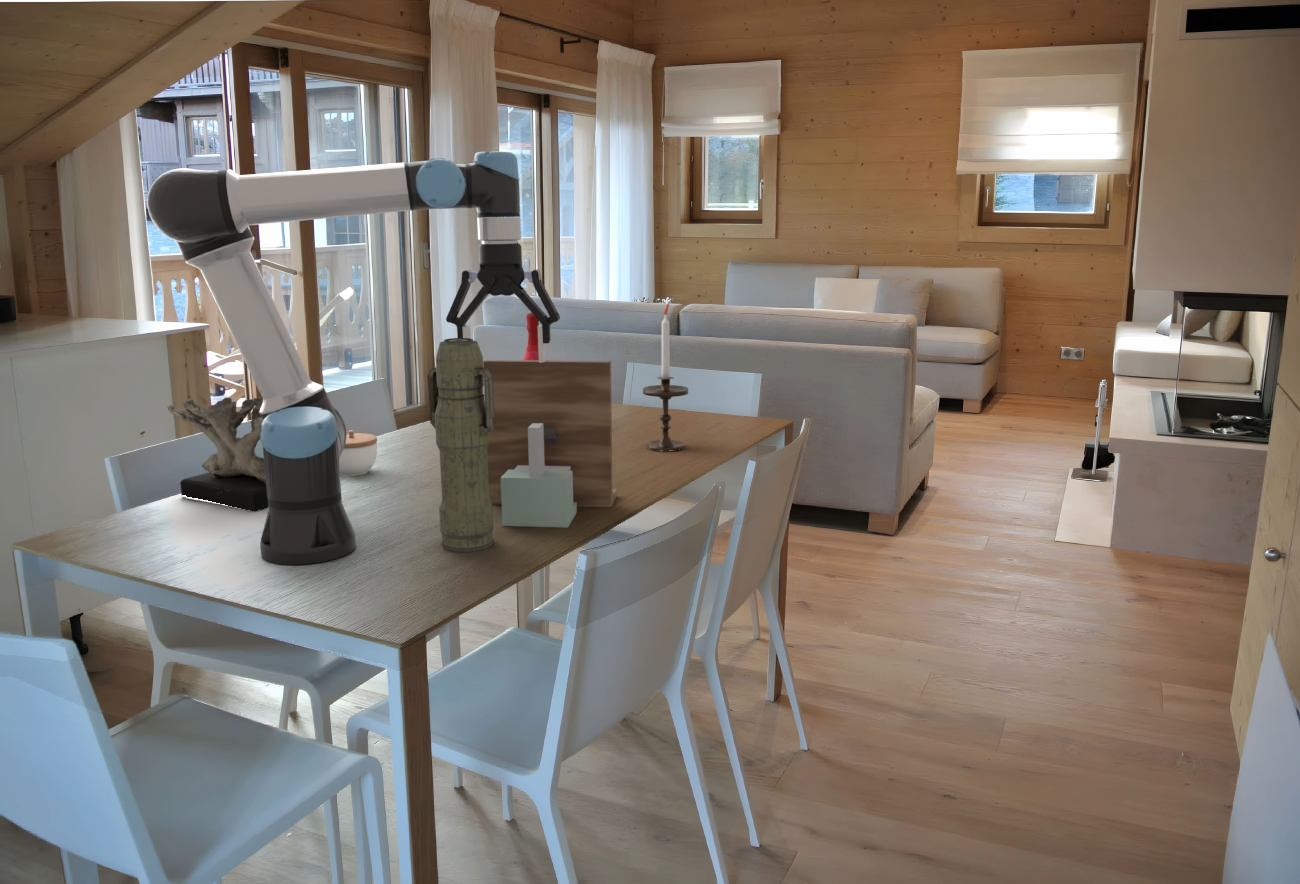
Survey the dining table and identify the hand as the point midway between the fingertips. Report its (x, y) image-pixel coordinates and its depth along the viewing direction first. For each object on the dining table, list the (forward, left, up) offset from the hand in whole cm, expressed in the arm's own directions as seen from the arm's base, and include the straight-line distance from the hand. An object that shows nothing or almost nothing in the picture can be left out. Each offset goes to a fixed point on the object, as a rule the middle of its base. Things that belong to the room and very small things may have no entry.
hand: (505, 361), depth 183 cm
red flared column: (+82, +13, -29) cm, 88 cm away
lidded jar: (+28, +42, -29) cm, 58 cm away
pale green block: (-2, -6, -29) cm, 30 cm away
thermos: (-18, +3, -29) cm, 34 cm away
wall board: (+8, -6, -29) cm, 31 cm away
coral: (+4, +56, -29) cm, 63 cm away
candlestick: (+58, -24, -29) cm, 70 cm away
